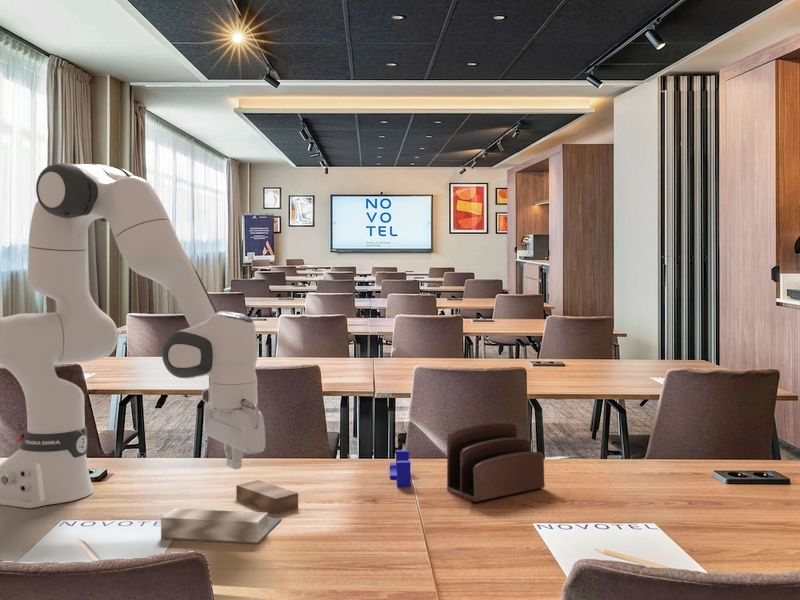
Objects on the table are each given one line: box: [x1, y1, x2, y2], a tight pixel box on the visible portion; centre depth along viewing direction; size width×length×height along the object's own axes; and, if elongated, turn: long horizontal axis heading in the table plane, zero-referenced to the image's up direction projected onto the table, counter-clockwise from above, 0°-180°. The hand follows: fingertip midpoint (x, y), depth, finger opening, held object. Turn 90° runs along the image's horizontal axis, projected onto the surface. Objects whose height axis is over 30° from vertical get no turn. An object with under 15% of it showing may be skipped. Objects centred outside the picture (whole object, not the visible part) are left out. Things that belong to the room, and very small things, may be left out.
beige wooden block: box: [160, 507, 269, 542], centre depth 131 cm, size 18×5×4 cm, turn 81°
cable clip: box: [389, 449, 412, 488], centre depth 167 cm, size 12×4×6 cm, turn 1°
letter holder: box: [446, 421, 546, 503], centre depth 160 cm, size 10×20×14 cm, turn 123°
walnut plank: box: [235, 479, 299, 515], centre depth 150 cm, size 14×6×4 cm, turn 45°
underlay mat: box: [160, 517, 282, 545], centre depth 135 cm, size 18×13×1 cm
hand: (234, 467), depth 141 cm, fingers closed
